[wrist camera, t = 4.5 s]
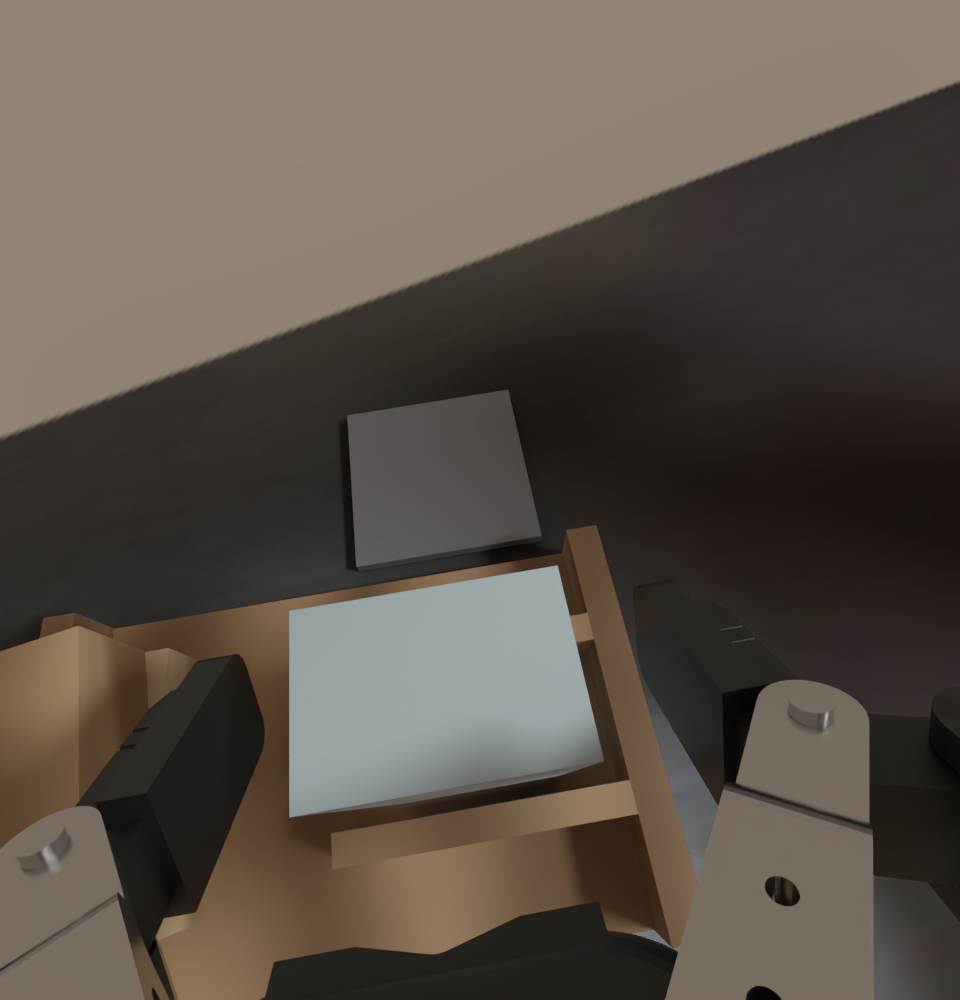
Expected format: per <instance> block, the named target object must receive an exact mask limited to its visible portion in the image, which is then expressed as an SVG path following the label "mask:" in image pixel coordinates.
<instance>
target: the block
mask: <svg viewBox="0 0 960 1000" xmlns="http://www.w3.org/2000/svg"><path fill="white" fill-rule="evenodd" d="M603 761H604V758H603V754H602V750H601V746H600V742H599V737H598V733H597V729H596V725H595V721H594V716H593V712H592V708H591V704H590V700H589V695H588V691H587V687H586V683H585V679H584V674H583V670H582V666H581V662H580V657H579V653H578V649H577V645H576V641H575V636H574V632H573V628H572V624H571V620H570V615H569V611H568V607H567V603H566V599H565V594H564V590H563V586H562V582H561V578H560V573H559V569H558V566H552V567H546V568H540V569H534V570H528V571H522V572H516V573H510V574H504V575H499V576H493V577H487V578H481V579H475V580H469V581H463V582H457V583H451V584H445V585H440V586H434V587H428V588H422V589H416V590H410V591H404V592H398V593H392V594H387V595H381V596H375V597H369V598H363V599H357V600H351V601H345V602H339V603H333V604H328V605H322V606H316V607H310V608H304V609H298V610H292V611H289V817H297V816H305V815H314V814H322V813H330V812H339V811H347V810H356V809H364V808H372V807H381V806H389V805H398V804H406V803H412V802H418V801H424V800H429V799H435V798H440V797H446V796H452V795H457V794H463V793H468V792H474V791H479V790H485V789H491V788H496V787H502V786H507V785H513V784H519V783H524V782H530V781H535V780H541V779H546V778H552V777H557V776H560V775H563V774H566V773H569V772H572V771H576V770H579V769H582V768H585V767H588V766H591V765H594V764H597V763H600V762H603Z"/></svg>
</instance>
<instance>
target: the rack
mask: <svg viewBox="0 0 960 1000" xmlns="http://www.w3.org/2000/svg"><path fill="white" fill-rule="evenodd" d="M552 566H558V569H559V573H560V578H561V582H562V586H563V590H564V594H565V599H566V603H567V607H568V611H569V615H570V620H571V624H572V628H573V632H574V636H575V641H576V645H577V649H578V653H579V657H580V662H581V666H582V670H583V674H584V679H585V683H586V687H587V691H588V695H589V700H590V704H591V708H592V712H593V716H594V721H595V725H596V729H597V733H598V737H599V742H600V746H601V750H602V754H603V758H604V761H603V762H600V763H597V764H594V765H591V766H588V767H585V768H582V769H579V770H576V771H572V772H569V773H566V774H563V775H560V776H557V777H552V778H546V779H541V780H535V781H530V782H524V783H519V784H513V785H507V786H502V787H496V788H491V789H485V790H479V791H474V792H468V793H463V794H457V795H452V796H446V797H440V798H435V799H429V800H424V801H418V802H412V803H406V804H398V805H389V806H381V807H372V808H364V809H356V810H347V811H339V812H330V813H322V814H314V815H305V816H297V817H289V611H292V610H298V609H304V608H310V607H316V606H322V605H328V604H333V603H339V602H345V601H351V600H357V599H363V598H369V597H375V596H381V595H387V594H392V593H398V592H404V591H410V590H416V589H422V588H428V587H434V586H440V585H445V584H451V583H457V582H463V581H469V580H475V579H481V578H487V577H493V576H499V575H504V574H510V573H516V572H522V571H528V570H534V569H540V568H546V567H552ZM76 626H80V627H83V628H86V629H88V630H91V631H94V632H96V633H99V634H101V635H104V636H107V637H109V638H112V639H115V640H117V641H120V642H123V643H125V644H128V645H131V646H133V647H136V648H138V649H141V650H144V651H145V652H148V651H154V650H160V649H166V648H170V649H173V650H175V651H177V652H180V653H182V654H185V655H187V656H190V657H192V658H194V659H197V660H204V659H210V658H216V657H222V656H228V655H233V654H238V655H240V656H241V657H242V658H243V660H244V662H245V664H246V667H247V670H248V673H249V676H250V679H251V682H252V685H253V689H254V692H255V695H256V698H257V701H258V704H259V707H260V710H261V713H262V717H263V721H264V728H265V739H264V746H263V750H262V753H261V756H260V758H259V760H258V763H257V765H256V768H255V770H254V773H253V775H252V777H251V780H250V782H249V785H248V787H247V790H246V792H245V794H244V797H243V799H242V802H241V804H240V807H239V809H238V812H237V814H236V816H235V819H234V821H233V824H232V826H231V829H230V831H229V833H228V836H227V838H226V841H225V843H224V846H223V848H222V850H221V853H220V855H219V858H218V860H217V863H216V865H215V868H214V870H213V872H212V875H211V877H210V880H209V882H208V885H207V887H206V889H205V892H204V908H203V922H201V923H199V924H196V925H194V926H192V927H189V928H187V929H184V930H182V931H180V932H177V933H175V934H173V935H170V936H168V937H165V938H163V939H161V940H158V941H159V943H160V946H161V948H162V950H163V954H164V957H165V960H166V963H167V966H168V969H169V972H170V975H171V978H172V981H173V984H174V987H175V991H176V994H177V997H178V1000H260V999H262V998H264V997H265V995H266V991H267V987H268V983H269V979H270V975H271V971H272V967H273V963H274V962H276V961H281V960H287V959H292V958H297V957H303V956H308V955H313V954H319V953H324V952H329V951H335V950H340V949H345V948H351V947H362V948H372V949H382V950H392V951H402V952H412V953H422V954H438V953H442V952H445V951H447V950H449V949H451V948H454V947H456V946H458V945H460V944H462V943H464V942H466V941H468V940H470V939H472V938H475V937H477V936H479V935H481V934H483V933H485V932H487V931H489V930H491V929H493V928H495V927H498V926H500V925H502V924H504V923H506V922H508V921H510V920H512V919H514V918H516V917H518V916H522V915H527V914H532V913H538V912H543V911H548V910H554V909H559V908H564V907H570V906H575V905H580V904H586V903H591V902H596V901H599V904H600V907H601V911H602V914H603V918H604V921H605V925H606V928H607V930H608V931H617V932H624V933H628V934H632V933H637V932H643V931H648V930H653V929H654V930H655V931H656V932H657V933H658V934H659V935H660V936H661V937H662V938H663V939H664V940H665V941H666V942H667V943H668V944H669V945H670V946H671V947H672V948H675V947H680V944H681V940H682V937H683V933H684V929H685V926H686V922H687V919H688V915H689V911H690V908H691V904H692V900H693V897H694V893H695V889H696V886H697V879H696V876H695V872H694V869H693V865H692V862H691V858H690V855H689V851H688V848H687V844H686V840H685V837H684V833H683V830H682V826H681V823H680V819H679V816H678V812H677V809H676V805H675V802H674V798H673V794H672V791H671V787H670V784H669V780H668V777H667V773H666V770H665V766H664V763H663V759H662V755H661V752H660V748H659V745H658V741H657V738H656V734H655V731H654V727H653V724H652V720H651V717H650V713H649V709H648V706H647V702H646V699H645V695H644V692H643V688H642V685H641V681H640V678H639V674H638V670H637V667H636V663H635V660H634V656H633V653H632V649H631V646H630V642H629V639H628V635H627V632H626V628H625V624H624V621H623V617H622V614H621V610H620V607H619V603H618V600H617V596H616V593H615V589H614V586H613V582H612V578H611V575H610V571H609V568H608V564H607V561H606V557H605V554H604V550H603V547H602V543H601V539H600V536H599V532H598V529H597V525H594V526H588V527H582V528H576V529H570V530H566V535H565V540H564V545H563V550H562V553H560V554H554V555H548V556H542V557H536V558H530V559H524V560H518V561H512V562H506V563H501V564H495V565H489V566H483V567H477V568H471V569H465V570H459V571H453V572H447V573H441V574H435V575H430V576H424V577H418V578H412V579H406V580H400V581H394V582H388V583H382V584H376V585H370V586H364V587H359V588H353V589H347V590H341V591H335V592H329V593H323V594H317V595H311V596H305V597H299V598H294V599H288V600H282V601H276V602H270V603H264V604H258V605H252V606H246V607H240V608H234V609H228V610H223V611H217V612H211V613H205V614H199V615H193V616H187V617H181V618H175V619H169V620H163V621H158V622H152V623H146V624H140V625H134V626H128V627H122V628H116V629H114V628H111V627H109V626H106V625H104V624H101V623H99V622H96V621H94V620H92V619H89V618H87V617H84V616H82V615H79V614H77V613H71V614H65V615H59V616H53V617H47V618H43V623H42V628H41V632H40V637H39V639H40V638H43V637H46V636H49V635H52V634H55V633H58V632H61V631H64V630H67V629H70V628H73V627H76Z"/></svg>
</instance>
